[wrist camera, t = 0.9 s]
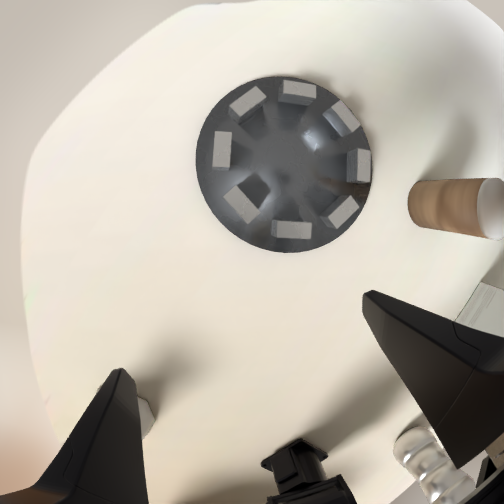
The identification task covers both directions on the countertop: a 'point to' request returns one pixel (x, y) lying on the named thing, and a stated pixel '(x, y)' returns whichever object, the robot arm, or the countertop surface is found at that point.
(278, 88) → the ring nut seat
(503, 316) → the supplement box
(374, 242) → the countertop surface
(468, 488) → the plastic bottle
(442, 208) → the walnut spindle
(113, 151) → the countertop surface
